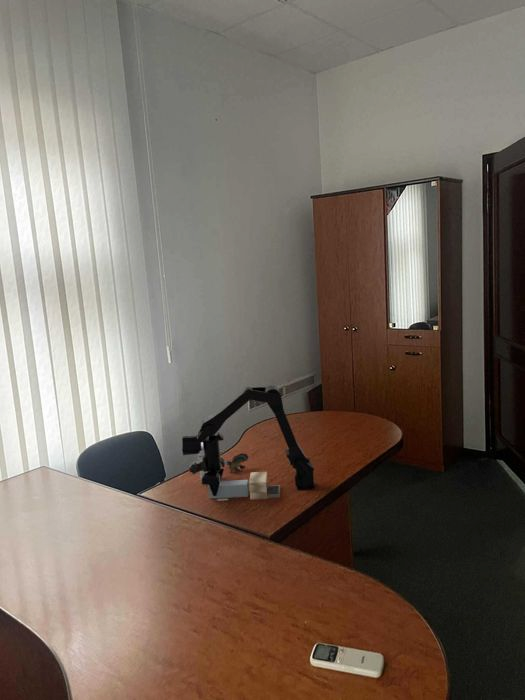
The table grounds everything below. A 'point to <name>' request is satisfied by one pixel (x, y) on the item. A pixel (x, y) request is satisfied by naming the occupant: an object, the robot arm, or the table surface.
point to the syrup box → (201, 458)
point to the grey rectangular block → (231, 489)
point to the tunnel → (258, 485)
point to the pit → (273, 491)
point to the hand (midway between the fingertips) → (215, 492)
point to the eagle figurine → (237, 461)
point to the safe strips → (221, 499)
